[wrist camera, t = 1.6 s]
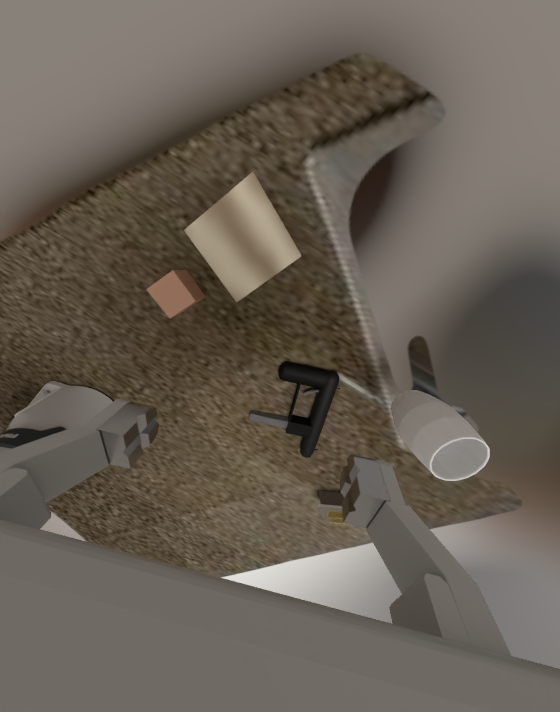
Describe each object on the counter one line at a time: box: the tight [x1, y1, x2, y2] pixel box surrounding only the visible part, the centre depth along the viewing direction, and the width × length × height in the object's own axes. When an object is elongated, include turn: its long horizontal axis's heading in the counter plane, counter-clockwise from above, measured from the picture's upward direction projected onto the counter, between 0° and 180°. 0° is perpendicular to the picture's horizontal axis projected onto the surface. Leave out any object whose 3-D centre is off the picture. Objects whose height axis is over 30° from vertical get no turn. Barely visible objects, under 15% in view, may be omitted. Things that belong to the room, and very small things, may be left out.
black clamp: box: [249, 362, 340, 458], centre depth 45 cm, size 3×20×16 cm
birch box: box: [184, 172, 301, 302], centre depth 32 cm, size 11×11×6 cm
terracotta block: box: [146, 270, 205, 318], centre depth 35 cm, size 5×5×5 cm
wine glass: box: [391, 390, 489, 481], centre depth 34 cm, size 7×7×21 cm
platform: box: [317, 491, 351, 525], centre depth 53 cm, size 12×18×7 cm, turn 82°
